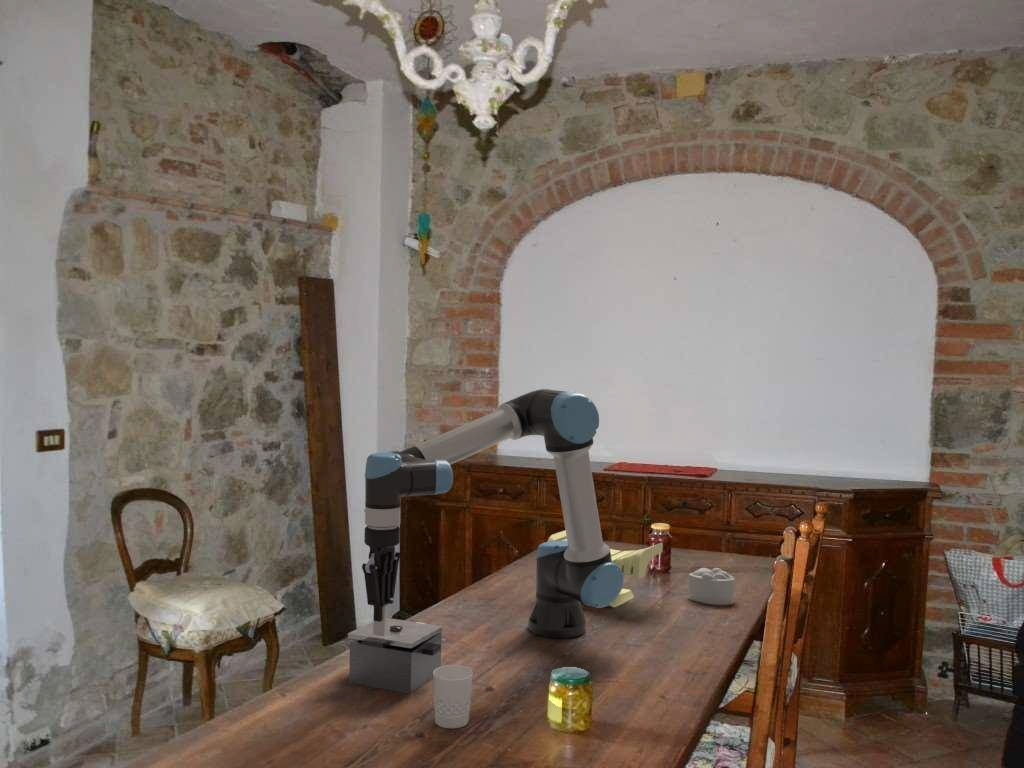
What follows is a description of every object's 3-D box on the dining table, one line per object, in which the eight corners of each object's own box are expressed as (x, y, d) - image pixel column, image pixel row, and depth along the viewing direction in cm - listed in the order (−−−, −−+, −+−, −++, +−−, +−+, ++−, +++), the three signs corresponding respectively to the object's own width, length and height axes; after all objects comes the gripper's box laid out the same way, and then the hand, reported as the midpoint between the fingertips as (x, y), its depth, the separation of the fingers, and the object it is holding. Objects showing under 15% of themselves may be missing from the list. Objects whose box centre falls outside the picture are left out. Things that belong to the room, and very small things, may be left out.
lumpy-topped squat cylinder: (698, 591, 272) (699, 563, 272) (739, 599, 265) (740, 570, 265) (684, 599, 264) (685, 570, 264) (726, 607, 257) (727, 578, 256)
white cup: (431, 713, 180) (433, 664, 180) (470, 712, 181) (472, 664, 180) (431, 730, 172) (433, 680, 172) (472, 730, 173) (473, 679, 173)
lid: (443, 630, 203) (443, 623, 203) (405, 651, 186) (405, 644, 186) (383, 620, 209) (384, 613, 209) (340, 641, 191) (341, 633, 191)
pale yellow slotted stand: (544, 596, 263) (546, 536, 262) (570, 584, 276) (572, 527, 275) (637, 616, 247) (639, 552, 246) (660, 602, 260) (662, 542, 259)
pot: (450, 671, 203) (451, 632, 202) (420, 696, 189) (421, 654, 188) (373, 658, 210) (374, 620, 209) (339, 681, 195) (340, 640, 195)
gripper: (381, 518, 197) (380, 623, 199) (351, 530, 185) (349, 641, 187) (412, 521, 195) (410, 627, 196) (383, 533, 183) (381, 646, 184)
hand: (380, 634), depth 191 cm, fingers closed
